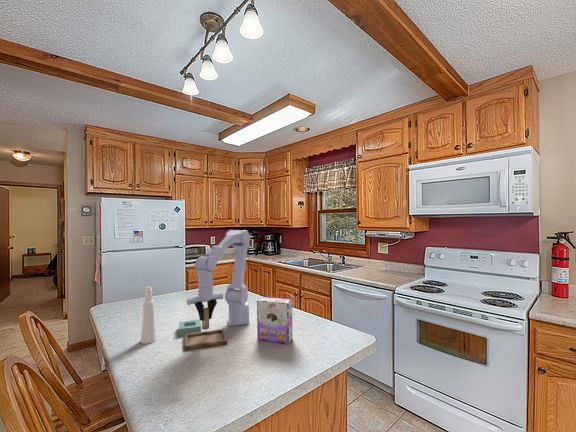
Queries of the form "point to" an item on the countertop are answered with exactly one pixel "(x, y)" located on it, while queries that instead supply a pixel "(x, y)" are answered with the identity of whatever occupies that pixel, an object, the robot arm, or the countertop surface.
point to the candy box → (274, 320)
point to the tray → (205, 339)
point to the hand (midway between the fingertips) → (205, 319)
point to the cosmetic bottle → (148, 319)
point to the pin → (205, 318)
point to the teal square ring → (189, 327)
